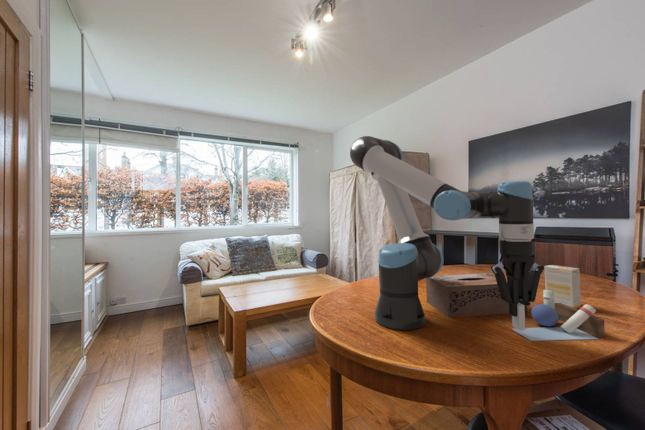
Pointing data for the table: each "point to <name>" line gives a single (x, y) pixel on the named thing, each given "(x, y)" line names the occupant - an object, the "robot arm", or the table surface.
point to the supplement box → (564, 284)
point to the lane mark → (552, 334)
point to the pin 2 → (578, 318)
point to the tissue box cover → (465, 295)
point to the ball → (545, 315)
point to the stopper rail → (590, 325)
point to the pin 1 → (548, 297)
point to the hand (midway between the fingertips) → (518, 327)
